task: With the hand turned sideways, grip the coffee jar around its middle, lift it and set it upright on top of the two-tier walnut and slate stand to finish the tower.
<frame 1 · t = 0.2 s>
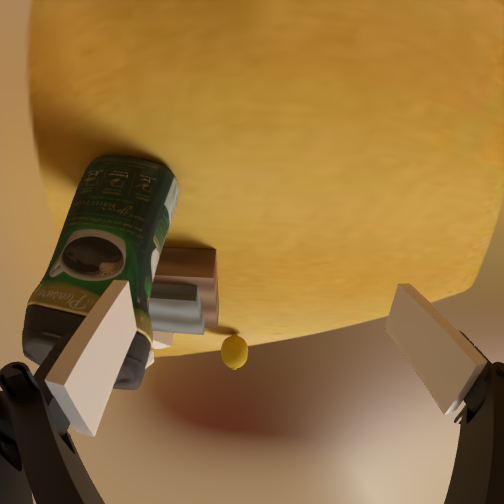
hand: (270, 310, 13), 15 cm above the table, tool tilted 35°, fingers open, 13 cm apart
tower stand: (163, 279, 40), on the table
coffee jar: (134, 183, 25), on the table
lemon: (234, 332, 58), on the table
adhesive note: (157, 321, 54), on the table
die: (140, 339, 65), on the table
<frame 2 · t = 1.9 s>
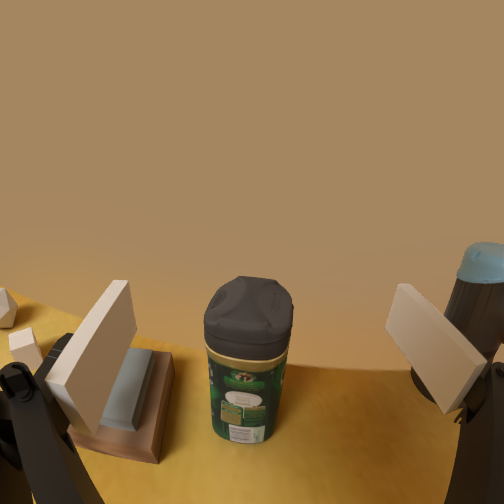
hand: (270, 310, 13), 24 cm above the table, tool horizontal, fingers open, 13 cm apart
tower stand: (110, 405, 30), on the table
coffee jar: (244, 417, 31), on the table
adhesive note: (31, 362, 33), on the table
die: (5, 325, 39), on the table
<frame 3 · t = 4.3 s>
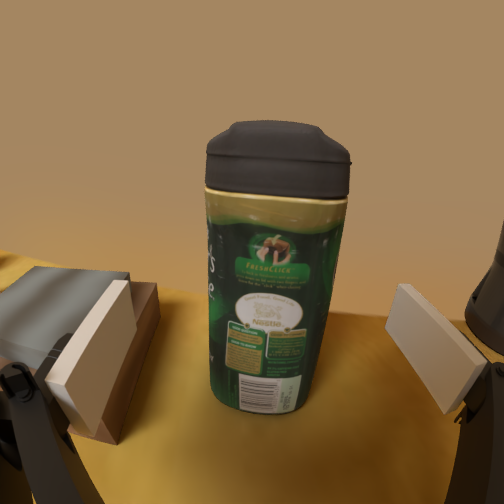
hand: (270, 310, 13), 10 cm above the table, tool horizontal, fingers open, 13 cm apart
tower stand: (64, 354, 20), on the table
coffee jar: (261, 376, 21), on the table
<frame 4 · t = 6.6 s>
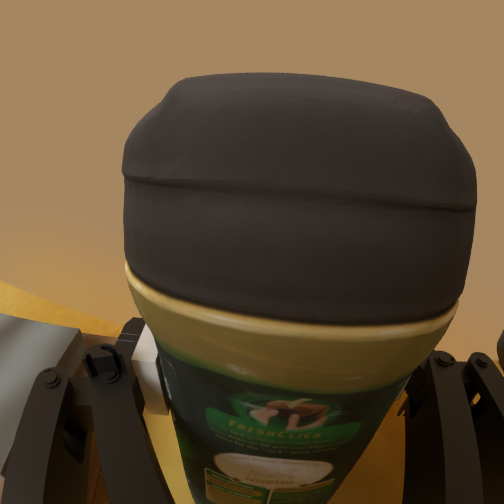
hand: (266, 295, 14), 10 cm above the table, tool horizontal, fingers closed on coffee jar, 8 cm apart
tower stand: (18, 423, 12), on the table
coffee jar: (260, 470, 13), on the table, touching gripper
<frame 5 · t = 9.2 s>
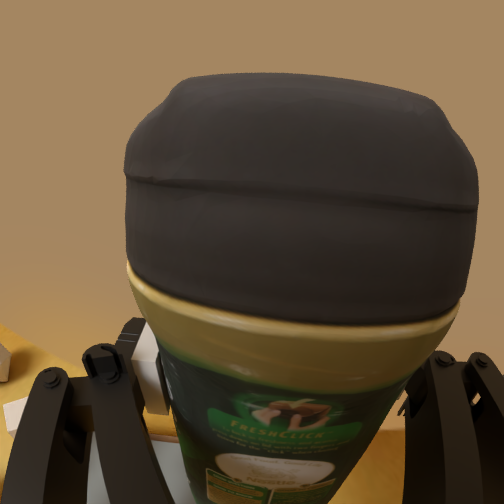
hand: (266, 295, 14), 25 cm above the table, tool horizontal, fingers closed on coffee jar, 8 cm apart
tower stand: (150, 503, 19), on the table
coffee jar: (261, 470, 13), point 15 cm above the table, touching gripper
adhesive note: (36, 435, 22), on the table
when the fingers open (17 cm above the table, at t = 11.8 s): coffee jar drops 1 cm, resting on tower stand.
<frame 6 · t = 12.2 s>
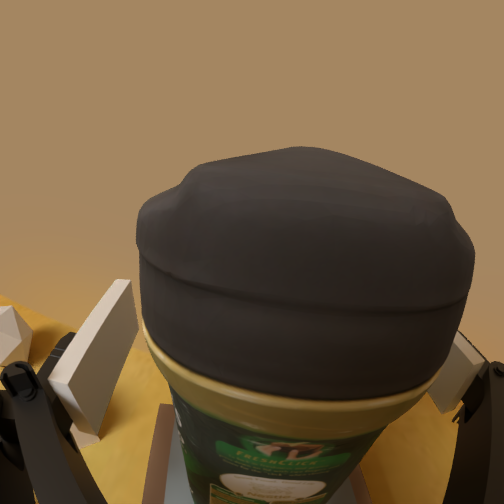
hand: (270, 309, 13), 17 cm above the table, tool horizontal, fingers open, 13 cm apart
tower stand: (253, 500, 16), on the table
coffee jar: (257, 478, 14), point 6 cm above the table, touching tower stand
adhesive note: (72, 432, 19), on the table
die: (15, 360, 26), on the table
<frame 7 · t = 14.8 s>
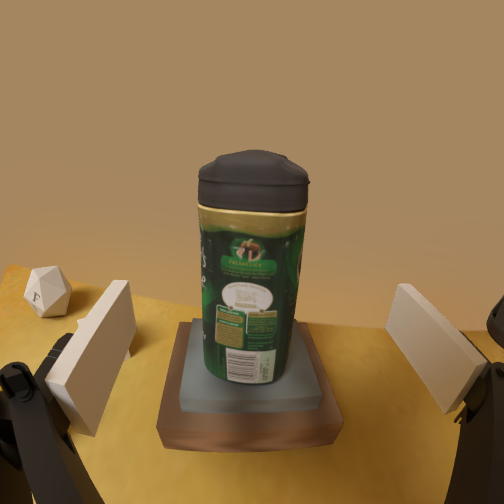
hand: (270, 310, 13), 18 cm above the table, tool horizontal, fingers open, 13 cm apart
tower stand: (245, 392, 28), on the table
coffee jar: (246, 355, 26), point 6 cm above the table, touching tower stand
die: (54, 312, 38), on the table
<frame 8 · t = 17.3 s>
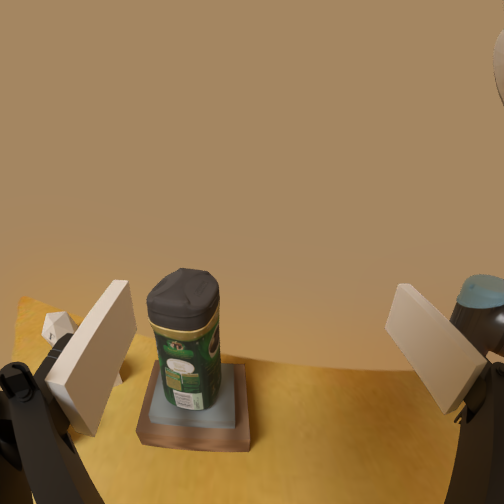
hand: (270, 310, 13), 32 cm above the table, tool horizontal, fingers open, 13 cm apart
tower stand: (197, 411, 40), on the table
coffee jar: (193, 389, 38), point 6 cm above the table, touching tower stand
die: (65, 345, 50), on the table
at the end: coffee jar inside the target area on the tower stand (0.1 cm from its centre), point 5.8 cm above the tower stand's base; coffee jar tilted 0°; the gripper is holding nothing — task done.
